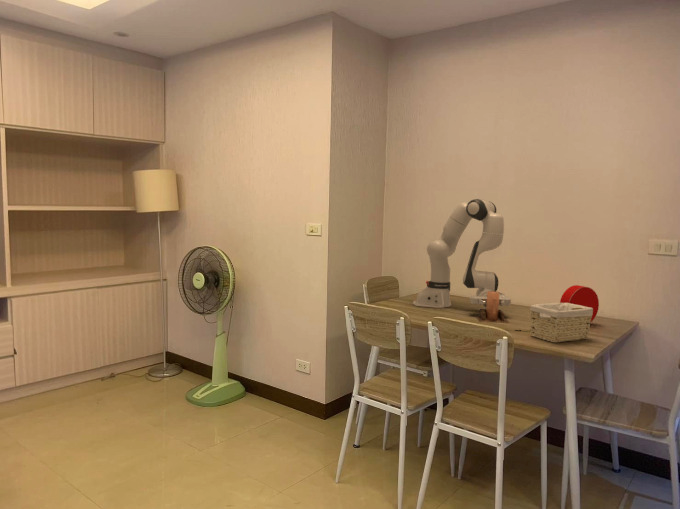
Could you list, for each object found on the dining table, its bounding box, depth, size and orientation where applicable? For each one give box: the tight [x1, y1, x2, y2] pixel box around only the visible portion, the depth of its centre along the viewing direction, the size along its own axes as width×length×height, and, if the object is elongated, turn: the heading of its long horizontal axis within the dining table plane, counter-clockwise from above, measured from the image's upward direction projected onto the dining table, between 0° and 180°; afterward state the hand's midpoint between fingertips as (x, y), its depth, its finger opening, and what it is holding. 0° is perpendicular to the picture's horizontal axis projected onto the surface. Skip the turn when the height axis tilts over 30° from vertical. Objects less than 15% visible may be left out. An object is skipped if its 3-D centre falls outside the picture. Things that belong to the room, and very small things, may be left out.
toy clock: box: [559, 284, 600, 323], centre depth 263 cm, size 20×6×20 cm, turn 111°
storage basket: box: [529, 302, 593, 343], centre depth 236 cm, size 24×16×15 cm
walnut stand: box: [474, 308, 511, 324], centre depth 267 cm, size 15×15×5 cm
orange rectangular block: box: [485, 291, 501, 320], centre depth 265 cm, size 6×8×14 cm
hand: (493, 303), depth 265 cm, fingers open, 8 cm apart
